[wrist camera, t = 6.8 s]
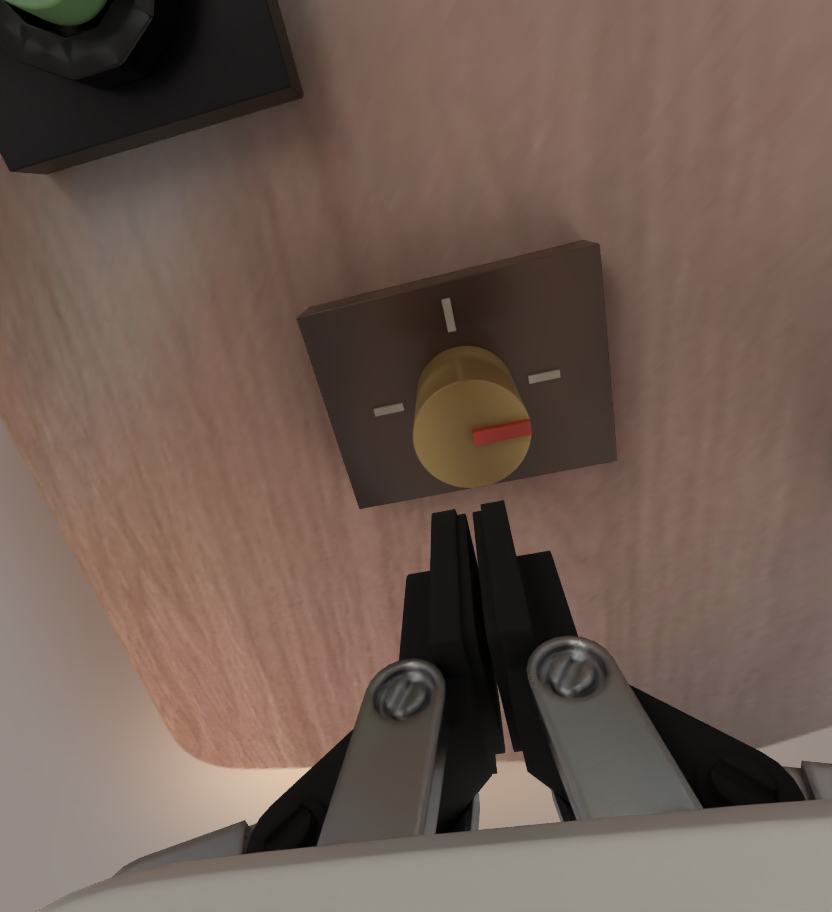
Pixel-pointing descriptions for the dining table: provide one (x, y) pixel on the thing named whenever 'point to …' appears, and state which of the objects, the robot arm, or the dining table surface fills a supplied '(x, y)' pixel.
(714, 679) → the dining table surface
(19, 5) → the power button
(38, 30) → the switch box
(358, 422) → the dimmer panel
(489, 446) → the dimmer knob
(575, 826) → the robot arm
